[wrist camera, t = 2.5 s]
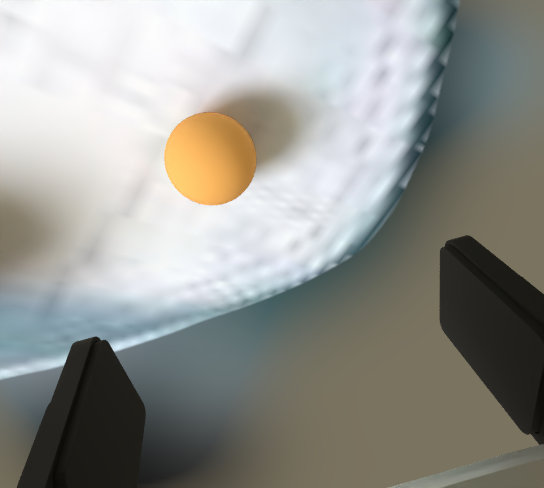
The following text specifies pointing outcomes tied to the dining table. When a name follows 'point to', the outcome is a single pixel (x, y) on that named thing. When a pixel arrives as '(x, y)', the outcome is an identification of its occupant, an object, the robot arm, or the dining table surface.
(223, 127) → the ball
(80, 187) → the dining table surface
